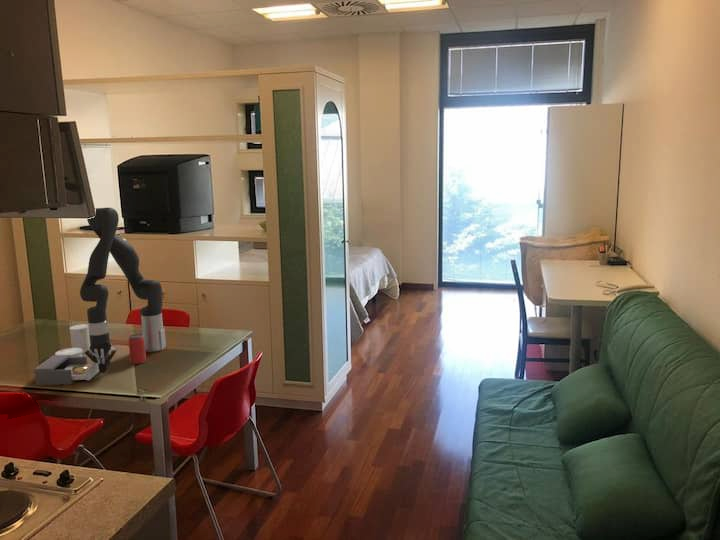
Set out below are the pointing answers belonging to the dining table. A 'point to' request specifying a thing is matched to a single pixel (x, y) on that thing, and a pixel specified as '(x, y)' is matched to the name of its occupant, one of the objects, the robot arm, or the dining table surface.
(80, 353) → the ramekin
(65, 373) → the housing
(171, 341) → the dining table surface
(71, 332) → the cup
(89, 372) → the tray
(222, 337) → the dining table surface
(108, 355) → the cylinder
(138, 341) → the beer can
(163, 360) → the dining table surface
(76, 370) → the disc
